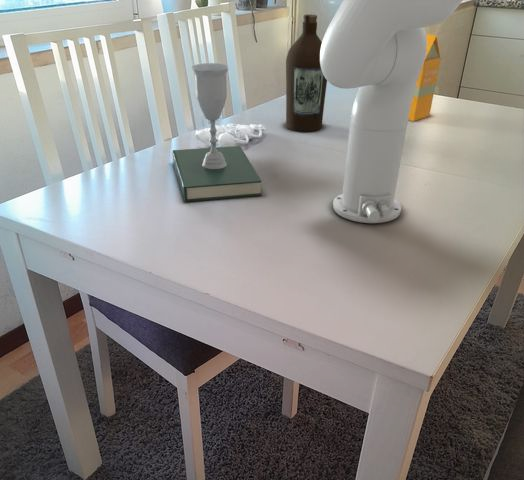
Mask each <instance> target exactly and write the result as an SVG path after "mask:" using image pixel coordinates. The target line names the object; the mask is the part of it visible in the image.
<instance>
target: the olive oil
mask: <svg viewBox="0 0 524 480" xmlns="http://www.w3.org/2000/svg"><path fill="white" fill-rule="evenodd" d="M317 19H318V15H317V14H311V13H310V14H303V21H302V31H301V35H300V36H299V37H298V38H297V39H296V40H295V42H294V43H293V44H292V45H291V46H290V47H289V48H288V52H287V54H286V58H285V92H286V93H285V102H286V103H285V126H286V128H287V129H289V130H292V131H295V132H303V133H305V132H316V131H319V130H320V129H322V127H323V119H324V109H325V102H326V101H325V100H326V93H327V84H328V81H327V80H326V78H325V77H324V75H323V73H322V70H321V66H320V49H321V44H322V40H321V38H320V37H319V36H318V34H317V29H318V22H317Z"/></svg>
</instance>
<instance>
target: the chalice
mask: <svg viewBox="0 0 524 480" xmlns="http://www.w3.org/2000/svg"><path fill="white" fill-rule="evenodd" d="M191 69H192V72H193V73H194V81H195V82H194V83H195V96H196V97H195V98H196V100H197V103H198V105H199V109H200V111H201V112H202V114H203V116H204V118H205V119H206V120H208V121H209V123H210V126H209V128H210V130H209V132H210V133H211V139H210V140H209V141H210V142H211V146H210V148H211V150H210V152H207V154H206V155H205V158H204V162H203V164H202V166H203V167H205V168H208V169H220V168H224V167H225V166H226V165H227V163H226V162H225V159H224V157H223V155H222V153H221V152H218V150H217V149H216V147H217V143H218V140H217V139H216V136H215V135H216V132H217V130H216V127H215V126H216V121H218V120H219V119H220V117H221V115H222V112H223V110H224V108H225V105H226V100H227V96H228V92H227V90H228V89H227V73H228V70H229V65H227V64H225V63H217V62H216V63H215V62H207V63H206V62H205V63H198V64H194V65H192V66H191Z"/></svg>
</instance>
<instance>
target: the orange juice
mask: <svg viewBox="0 0 524 480" xmlns="http://www.w3.org/2000/svg"><path fill="white" fill-rule="evenodd" d="M426 36H427V50H426V56H425V60H424V63H423V66H422V69H421V72H420V75H419V78H418V80H417V83H416V87H415V90H414V94H413V98H412V102H411V107H410V112H409V118H408V121H411V122H416V121H419V120H422V119H425V118H428V117H430V114H431V109H432V105H433V100H434V99H433V98H434V94H435V89H436V85H437V79H438V73H439V69H440V63H441V58H442V57H441V56H440V48H439V43H438V37H437V36H438V35H436V34H431V33H426Z"/></svg>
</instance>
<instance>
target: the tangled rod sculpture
mask: <svg viewBox="0 0 524 480" xmlns="http://www.w3.org/2000/svg"><path fill="white" fill-rule="evenodd" d="M215 127H216V130H217V132H216V135H215V136H216V139H217V140H218V141H217V144H218V147H231V146H235V142H236V143H238V144H243V145H247V144H249V141H250V140H251V139H261V138H262V136H263V132H264V131H265V132H266V131H267V128H266V127H265V125H264V124H261V123H260V124H254V123H250V125H247V124H240V123H238V124H236V123H227V125H226V124H221V125H219V124H217V125H215ZM209 130H210V127H207V128H201V129H197V130H195V134H194V138H195V139H196V140H197V141H198V142H200V143H201V144H204V145H205V146H209V147H212V146H211V142H210V141H209V140H210V139H211V133H210V132H209ZM257 132H258V134H255V133H257ZM231 133H232V134H231ZM233 133H234V134H235V137H234V136H233Z"/></svg>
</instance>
